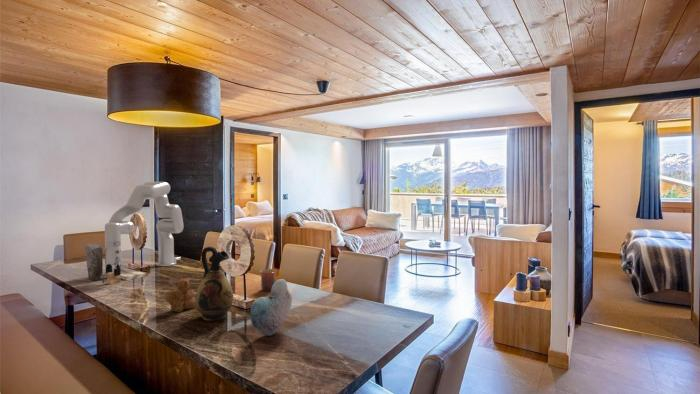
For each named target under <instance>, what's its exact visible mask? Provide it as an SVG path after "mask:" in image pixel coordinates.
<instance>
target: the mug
mask: <svg viewBox="0 0 700 394" xmlns="http://www.w3.org/2000/svg"><path fill="white" fill-rule="evenodd" d="M276 273H277V269H275V268H266V269H265V268H264V269H261V270H259V274H260V278H261V280H260V288H261V290H262V291H263V292H271V289H272V286H273V284H274V283H275V282H276Z"/></svg>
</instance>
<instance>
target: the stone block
mask: <svg viewBox="0 0 700 394" xmlns="http://www.w3.org/2000/svg"><path fill="white" fill-rule="evenodd" d="M84 247H85V256H86V267H87V275H88V276H87V279H89V280H91V281H94V282H96V281H99V280H102V279H101V276H103V270H104V269H103V266H104V263H103V260H104V259H103V257H104V256H103V253H104V252H103V251H104V250H103V245H101V244H98V243H95V244H86V245H85V246H84Z"/></svg>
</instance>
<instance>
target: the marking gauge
mask: <svg viewBox="0 0 700 394" xmlns="http://www.w3.org/2000/svg"><path fill="white" fill-rule="evenodd" d="M106 278H107V284H108V285H114V284H118V283H119V284H120V283H121V278H120V275H118V276H114V272H109V273H107V274H106V275H102V276H101V279H100V280H102V284H104V283H105V279H106Z"/></svg>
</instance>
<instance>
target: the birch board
mask: <svg viewBox="0 0 700 394" xmlns="http://www.w3.org/2000/svg"><path fill="white" fill-rule="evenodd" d="M112 272H114V270H112ZM144 277H147V273H146V272H144V271H140V270H136V269H132V268H123V269H121V275H120V280H124V281H130V280H135V279H140V278H144Z"/></svg>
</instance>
